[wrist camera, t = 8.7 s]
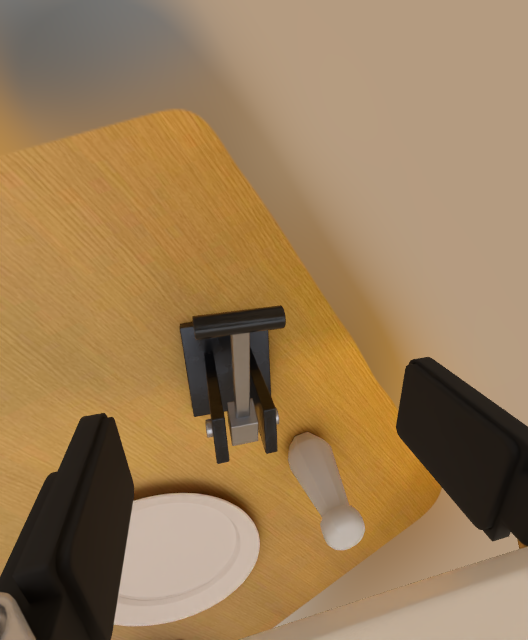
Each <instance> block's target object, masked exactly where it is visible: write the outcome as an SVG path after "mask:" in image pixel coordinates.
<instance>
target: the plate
mask: <svg viewBox="0 0 528 640" xmlns="http://www.w3.org/2000/svg"><path fill="white" fill-rule="evenodd" d="M259 548H260V539H259V533H258V530H257V528H256V525H255V524H254V522H253V520H252V519H251V518H250V517H249V516H248V515H247V513H246V512H244V511H243V510H242V509H240V508H239V507H238V506H236V505H234V504H232V503H230V502H228V501H226V500H223V499H221V498H217V497H213V496H209V495H203V494H196V493H170V494H162V495H155V496H151V497H146V498H142V499H138V500H135V501H133V505H132V512H131V518H130V524H129V531H128V537H127V543H126V550H125V556H124V562H123V569H122V575H121V581H120V588H119V594H118V600H117V606H116V613H115V619H114V625H122V626H148V625H157V624H164V623H168V622H173V621H177V620H180V619H183V618H186V617H189V616H192V615H195V614H197V613H199V612H202V611H204V610H206V609H208V608H210V607H212V606H213V605H215V604H217V603H218V602H220V601H222V600H223V599H225V598H226V597H227V596H229V595H230V594H231V593H232V592H234V591H235V590H236V589H237V588H238V587H239V586H240V585H241V584H242V583H243V582H244V580H245V579H246V578H247V577H248V575H249V574H250V572H251V571H252V569H253V567H254V565H255V563H256V560H257V558H258V553H259Z"/></svg>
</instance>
